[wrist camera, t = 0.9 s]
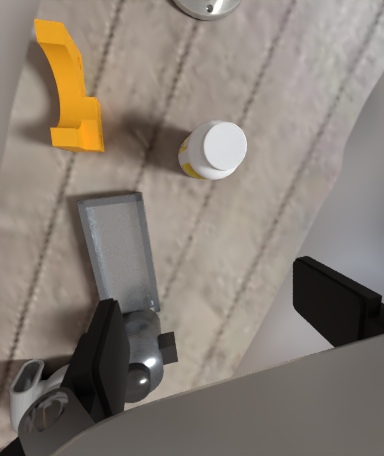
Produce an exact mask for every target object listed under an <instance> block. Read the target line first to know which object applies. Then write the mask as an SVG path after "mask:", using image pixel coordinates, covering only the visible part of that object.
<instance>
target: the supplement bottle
mask: <svg viewBox="0 0 384 456" xmlns="http://www.w3.org/2000/svg"><path fill="white" fill-rule="evenodd" d="M246 150H247V142H246V137H245V135H244V133H243V131H242V130H241V129H240V128H239V127H238V126H237V125H235V124H233V123H230V122H224V121H221V120H210V121H206V122H204V123H202V124H201V125H199V126H198V127H197V128H196V129H195V130H194V131H193V132H192V133H191V134H190V135H189V136H188V137H187V138H186V139H185V140H184V142H183V143H182V145H181V147H180V149H179V154H178V159H179V164H180V166H181V168H182V170H183V171H184V172H185V173H186V174H187V175H188V176H190V177H192V178H196V179H212V180H215V179H221V178H224V177H226V176H228V175H229V174H231V173H232V172H233V171H234V170H235V169H236V167H237V166H238V165H239V164H240V163H241V162H242V160H243V158H244V157H245V154H246Z"/></svg>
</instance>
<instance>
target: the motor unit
mask: <svg viewBox="0 0 384 456" xmlns="http://www.w3.org/2000/svg"><path fill="white" fill-rule="evenodd" d="M76 202H77V206H78V210H79V214H80V219H81V223H82V227H83V231H84V235H85V239H86V243H87V247H88V252H89V256H90V260H91V264H92V268H93V272H94V276H95V280H96V284H97V289H98V293H99V297H100V301H101V300H105V299H109V298H113V299H114V301H115V300H118V302H119V306H120V310H121V314H122V313H123V314H122V317H123V321H124V325H125V329H126V332H127V336H128V340H129V344H130V359H129V368H128V377H127V386H126V395H125V402H126V403H134V402H138V401H141V400H142V399H144V398H145V397H146V396H147V395H148V394H149V393H150V392H152V391H153V390H154V389H155V388H156V387H157V386H158V385H159V384H160V382H161V380H162V378H163V372H164V371H163V365H165V364H169V363H173V362H177V361H178V358H177V351H176V344H175V337H174V331H173V332H169V333H164V334H161V327H160V319H159V317H158V315H157V314H156V313H155V312H159V311H160V300H159V294H158V288H157V282H156V275H155V269H154V263H153V256H152V250H151V244H150V238H149V231H148V225H147V219H146V212H145V206H144V200H143V194H142V193H134V194H125V195H116V196H108V197H99V198H90V199H82V200H79V201H76ZM152 307H154V311H152V310H150V309H148V308H152Z"/></svg>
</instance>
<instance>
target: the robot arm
mask: <svg viewBox="0 0 384 456" xmlns="http://www.w3.org/2000/svg"><path fill="white" fill-rule="evenodd" d="M173 1H174V3H175V4H176V5H177V6H178V7H179V8H180V9H182V10H183V11H184V12H185V13H187V14H189V15H190V16H192V17H194V18H198V19H201V20H216V19H220V18H222V17H225V16H227V15H228V14H229V13H231V12H232V11H233V10H234V9H235V8H236V7H237V6H238V4H239V3H240V1H241V0H173ZM381 300H382V296H381V295H380V294H378V293H376V292H374V291H372V290H370V289H368V288H367V287H365V286H363V285H361V284H359V283H357V282H355V281H353V280H352V279H350V278H348V277H346V276H344V275H342V274H340V273H339V272H337V271H335V270H333V269H331V268H329V267H327V266H325V265H324V264H322V263H320V262H318V261H316V260H314V259H312V258H311V257H309V256H304V257H300V258H297V259H296V260H295V261H294V262H293V306H294V308H295V310H296V311H297V312H298V313H299V314H300V315H301V316H302V317H303V318H304V319H305V320H306V321H307V322H309V323H310V324H311V325H312V326H313V327H314V328H315V329H316V330H317V331H318V332H319V333H320V334H321V335H322V336H323V337H324V338H325V339H326V340H327V341H328V342H329V343H330V344H332V345H333V346H334V347H335V348H332V349H328V350H325V351H321V352H318V353H314V354H311V355H307V356H304V357H300V358H297V359H293V360H290V361H286V362H283V363H279V364H276V365H273V366H269V367H266V368H262V369H259V370H255V371H252V372H249V373H245V374H242V375H239V376H235V377H232V378H228V379H225V380H222V381H218V382H215V383H212V384H208V385H205V386H201V387H198V388H195V389H191V390H188V391H185V392H181V393H178V394H175V395H172V396H169V397H165V398H162V399H159V400H156V401H153V402H150V403H147V404H143V405H140V406H138V407H135V408H132V409H129V410H126V411H124V404H125V395H126V386H127V377H128V368H129V359H130V344H129V340H128V336H127V332H126V329H125V325H124V321H123V317H122V314H121V310H120V306H119V302H118V300H115V301H114V299H113V298H109V299H105V300H101V301H100V302H99V304H98V307H97V309H96V312H95V314H94V317H93V319H92V322H91V324H90V327H89V329H88V332H87V333H84V334H82V336H81V337H80V340H79V342H78V345H77V347H76V349H75V352H74V354H73V356H72V359H71V361H70V363H69V366H68V368H67V371H66V373H65V375H64V378H63V380H62V382H61V385H60V387H59V388H56V389H53V390H51V391H49V392H47V393H45V394H44V395H42V396H41V397H39V398H38V399H37V400H36V401H35V402H34V403H32V404H31V406H30V407H29V408H28V409H27V410H26V412H25V413H24V415H23V416H22V418H21V420H20V423H19V426H18V437H17V438H16V439H15V440H14V441H13V442H11V443H10V444H9V445H8V446H7V447H6V448H5V449H4V450H3V451H1V452H0V456H384V304H383V303H381Z"/></svg>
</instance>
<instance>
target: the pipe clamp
mask: <svg viewBox="0 0 384 456" xmlns="http://www.w3.org/2000/svg"><path fill="white" fill-rule="evenodd" d="M34 21H35V28H36V35H37V42H38V43H39V44H40V46H41V47H42V49H43V51H44V52H45V54H46V56H47V58H48V60H49V63H50V65H51V68H52V71H53V73H54V77H55V80H56V84H57V88H58V93H59V99H60V121H59V124H58V126H57V127H56V128H50V130H51V137H52V143H53V146H55V147H58V148H62V149H65V150H69V151H72V152H104V142H103V132H102V121H101V110H100V103H99V101H98V100H97V98H95V97H86V94H85V85H84V75H83V66H82V57H81V54H80V52H79V50H78V49H77V47H76V45H75V44H74V42H73V40H72V38H71V37H70V35H69V33H68V32H67V30H66V28H65V26H64V25H63V23H62V22H53V21H45V20H37V19H34Z"/></svg>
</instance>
